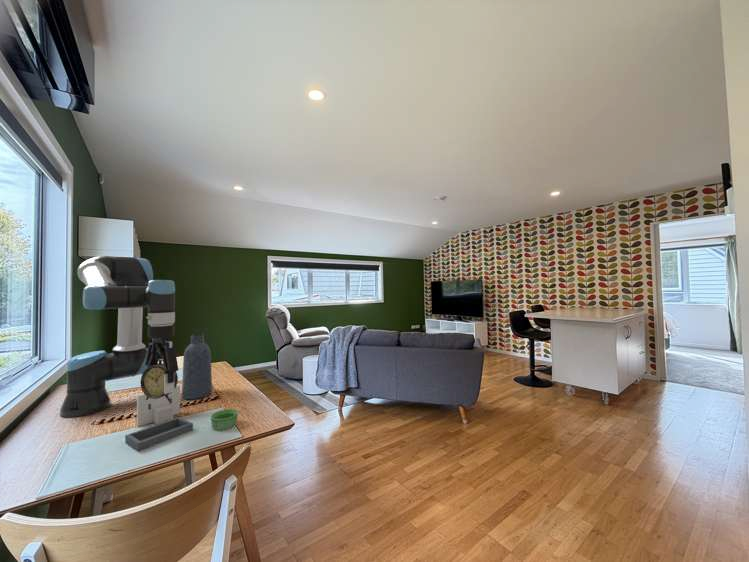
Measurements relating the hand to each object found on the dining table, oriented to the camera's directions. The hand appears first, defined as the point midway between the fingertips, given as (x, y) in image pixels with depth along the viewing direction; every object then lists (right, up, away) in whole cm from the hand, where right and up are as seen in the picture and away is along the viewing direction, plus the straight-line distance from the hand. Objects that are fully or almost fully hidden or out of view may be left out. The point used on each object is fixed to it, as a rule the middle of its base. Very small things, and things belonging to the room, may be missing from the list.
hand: (160, 389), depth 101 cm
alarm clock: (0, -4, 0) cm, 4 cm away
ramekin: (+18, -16, +7) cm, 25 cm away
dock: (0, -16, 0) cm, 16 cm away
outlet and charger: (-6, -16, +10) cm, 20 cm away
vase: (-11, -17, +39) cm, 43 cm away
